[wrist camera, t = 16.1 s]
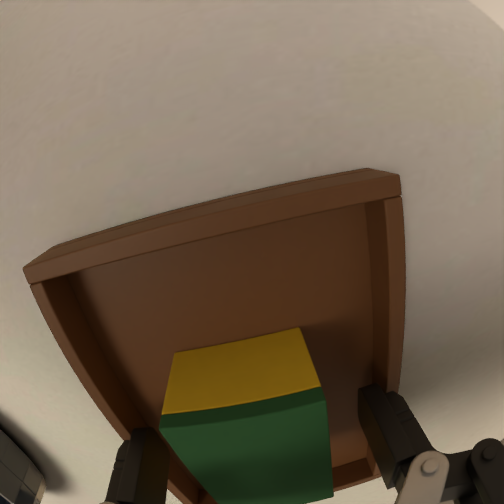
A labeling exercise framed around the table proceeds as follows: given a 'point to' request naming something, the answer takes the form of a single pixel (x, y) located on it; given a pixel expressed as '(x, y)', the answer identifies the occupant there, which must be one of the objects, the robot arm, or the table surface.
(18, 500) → the bowl
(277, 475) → the sponge
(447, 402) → the table surface
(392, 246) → the tray
